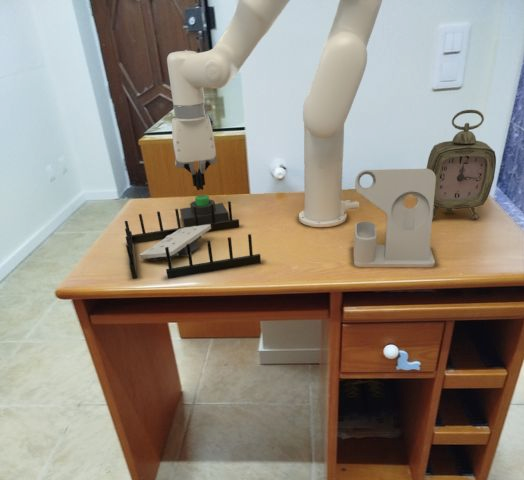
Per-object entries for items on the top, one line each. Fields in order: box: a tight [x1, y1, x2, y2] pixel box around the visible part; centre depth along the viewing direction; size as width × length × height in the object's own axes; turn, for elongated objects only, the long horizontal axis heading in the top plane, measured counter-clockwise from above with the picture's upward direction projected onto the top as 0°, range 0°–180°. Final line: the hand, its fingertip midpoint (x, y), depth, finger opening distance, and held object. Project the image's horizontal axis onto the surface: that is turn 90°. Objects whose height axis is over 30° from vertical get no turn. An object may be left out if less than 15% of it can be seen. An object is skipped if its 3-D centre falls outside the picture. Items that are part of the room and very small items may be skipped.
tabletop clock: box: [425, 109, 497, 221], centre depth 117 cm, size 14×9×25 cm, turn 83°
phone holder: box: [352, 168, 436, 268], centre depth 102 cm, size 17×10×18 cm, turn 82°
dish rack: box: [124, 200, 262, 280], centre depth 113 cm, size 28×24×7 cm
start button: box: [194, 194, 210, 206], centre depth 128 cm, size 4×4×2 cm
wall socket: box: [139, 224, 211, 262], centre depth 115 cm, size 18×15×4 cm
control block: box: [179, 198, 230, 227], centre depth 130 cm, size 12×8×5 cm, turn 104°
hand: (199, 188), depth 126 cm, fingers closed
